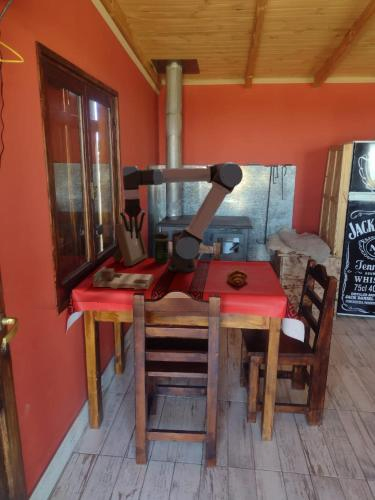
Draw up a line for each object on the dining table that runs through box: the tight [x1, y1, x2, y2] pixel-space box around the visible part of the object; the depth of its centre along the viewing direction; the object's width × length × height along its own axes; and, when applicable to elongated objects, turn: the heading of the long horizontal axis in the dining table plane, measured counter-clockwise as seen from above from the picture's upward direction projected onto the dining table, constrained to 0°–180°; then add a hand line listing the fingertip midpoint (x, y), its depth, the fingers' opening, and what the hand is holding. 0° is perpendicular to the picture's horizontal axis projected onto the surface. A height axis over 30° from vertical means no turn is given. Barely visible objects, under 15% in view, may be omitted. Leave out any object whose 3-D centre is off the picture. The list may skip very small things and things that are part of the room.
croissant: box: [226, 268, 248, 287], centre depth 182 cm, size 21×10×8 cm, turn 175°
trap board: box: [92, 265, 154, 290], centre depth 177 cm, size 26×16×6 cm, turn 85°
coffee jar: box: [154, 230, 170, 264], centre depth 215 cm, size 10×8×19 cm
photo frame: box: [113, 219, 148, 267], centre depth 214 cm, size 15×22×25 cm
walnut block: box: [101, 267, 115, 281], centre depth 174 cm, size 5×5×5 cm
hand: (135, 244), depth 181 cm, fingers closed
